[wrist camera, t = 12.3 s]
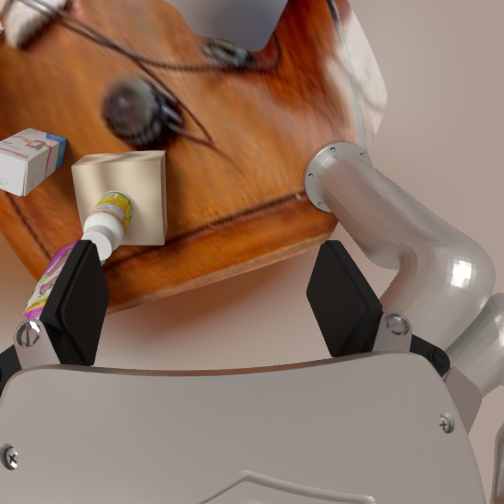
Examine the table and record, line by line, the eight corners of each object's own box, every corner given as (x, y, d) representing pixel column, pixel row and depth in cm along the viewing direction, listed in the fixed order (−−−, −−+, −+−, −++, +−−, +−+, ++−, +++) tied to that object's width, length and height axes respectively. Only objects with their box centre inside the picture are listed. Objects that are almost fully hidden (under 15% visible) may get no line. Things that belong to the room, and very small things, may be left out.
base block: (165, 150, 36) (160, 160, 32) (167, 227, 43) (164, 245, 39) (84, 155, 33) (71, 166, 29) (95, 228, 41) (86, 245, 37)
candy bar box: (96, 228, 41) (62, 297, 28) (110, 250, 44) (85, 321, 31) (55, 249, 41) (21, 314, 28) (69, 268, 44) (41, 334, 31)
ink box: (68, 136, 31) (28, 162, 21) (62, 166, 33) (25, 199, 24) (28, 126, 27) (-16, 149, 18) (24, 154, 30) (-18, 184, 20)
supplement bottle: (111, 182, 32) (86, 216, 24) (141, 203, 35) (126, 243, 27) (93, 210, 34) (69, 249, 26) (122, 230, 36) (105, 272, 29)
